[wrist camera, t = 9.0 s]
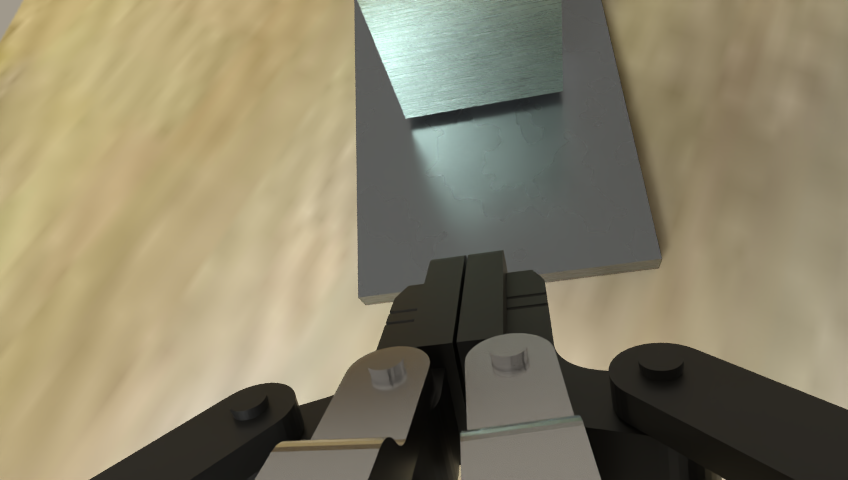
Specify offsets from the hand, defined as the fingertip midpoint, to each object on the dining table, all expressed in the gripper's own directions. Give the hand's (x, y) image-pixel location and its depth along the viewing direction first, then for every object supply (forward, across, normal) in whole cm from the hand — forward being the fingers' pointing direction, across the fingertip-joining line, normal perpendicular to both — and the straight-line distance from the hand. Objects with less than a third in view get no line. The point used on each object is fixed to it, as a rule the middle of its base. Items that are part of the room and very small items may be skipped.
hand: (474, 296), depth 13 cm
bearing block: (+21, 0, -3) cm, 21 cm away
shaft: (+22, 0, -7) cm, 23 cm away
